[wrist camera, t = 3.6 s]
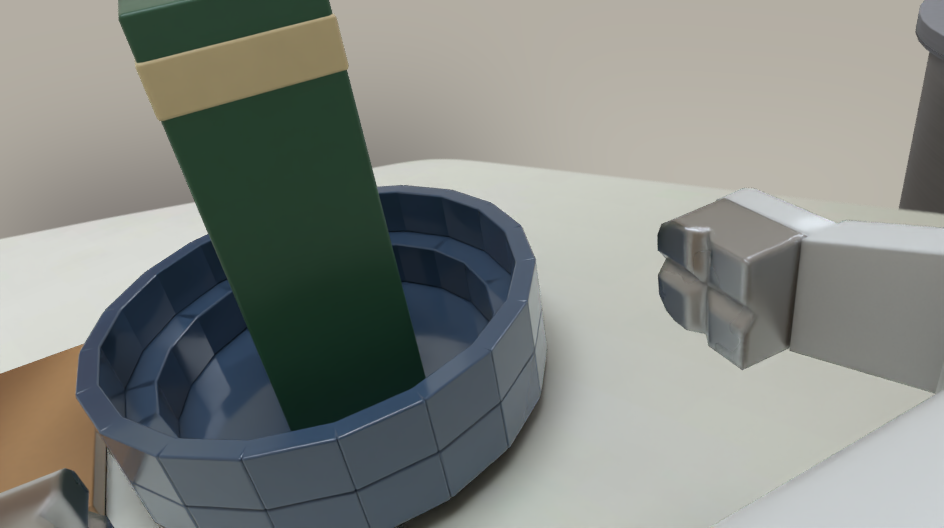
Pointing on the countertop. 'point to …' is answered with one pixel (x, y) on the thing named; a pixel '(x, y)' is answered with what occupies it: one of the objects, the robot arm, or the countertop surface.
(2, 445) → the cork mat
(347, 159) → the tea packet
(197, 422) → the bowl
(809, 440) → the countertop surface
